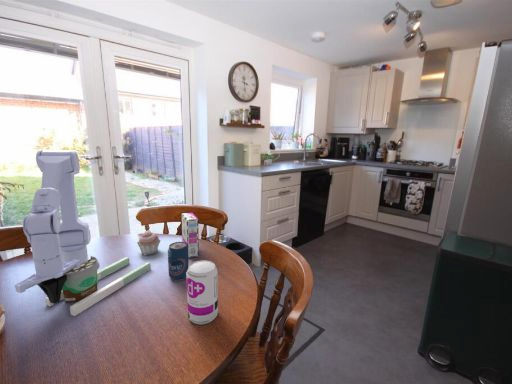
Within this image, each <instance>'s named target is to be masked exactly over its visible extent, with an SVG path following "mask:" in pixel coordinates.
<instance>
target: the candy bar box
mask: <svg viewBox="0 0 512 384" xmlns="http://www.w3.org/2000/svg"><path fill="white" fill-rule="evenodd" d="M181 239H182V241H181V242H184V243H186V246H187V247H188V256H189V259H190V258H191V259H192V258H197V257H199V256H200V255H199V253H200V252H199V248H200V247H199V246H200V245H199V243H200V242H199V218H198V217H197V216H196V215H195V214H194V213H193V212H183V213H181Z"/></svg>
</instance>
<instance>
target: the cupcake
mask: <svg viewBox="0 0 512 384" xmlns="http://www.w3.org/2000/svg"><path fill="white" fill-rule="evenodd" d="M161 241H162V240H161V239H160V238H159V236H158V235H157V234H156V233H155V232H153V231H150V229H147V230H145V231H144V232H143V233H142V234H141V235H140V237H139V239H138V241H137V242H136V244H137V246H138V247H139V250H140V252H141V255H145V256H151V255H154V254H156V253H157V252H158V251H159V250H158V249H159V245H160V243H161Z"/></svg>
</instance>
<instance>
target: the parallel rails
mask: <svg viewBox="0 0 512 384" xmlns="http://www.w3.org/2000/svg"><path fill="white" fill-rule="evenodd" d="M129 264H130V257H128V256H125V257H123V258H121V259H119V260H117V261H115V262H113V263H111V264H109V265H107V266H105V267H103V268H101V269H98V270H97V282H99V281H100V280H102V279H103V278H105V277H107V276H109V275H111V274H113V273H114V272H116V271H119V270H120V269H122V268H123V267H126V266H127V265H129ZM151 269H152V268H151V262H148V261H147V262H144V263H143V264H142V265H139V266H137V267H136V268H135V269H134V268H133V270H131V271H129V272H127V273H125V274H124V275H122V276H120V277H119V278H117V279H115V280H114V281H112V282H110V283H108V284H107V285H105V286H104V287H101V288H100V289H97V291H96V292H94V293H93V294H91V295H89V296H88V297H86V298H84V299H82V300H81V301H79V302H75V303H73V304H72V305H70V306H69V311H70V315H71V316H73V317H76V316H78V315H79V314H80V313H82V312H84V311H85V310H87V309H88V308H89V309H90V307H92V306H94V305H95V304H96V303H98V302H100V301H102V300H103V299H104V298H105V299H106V297H108V296H110V295H111V294H112V293H114V292H117V291H118V290H119V289H121V288H123V287H124V286H125V285H127V284H129V283H130V282H132V281H134V280H135V279H137V278H138V277H140V276H142V275H143V274H146V273H147V272H149V270H151ZM44 298H45V299H44V300H45V304H46V306H48V307H51V306H53V305H54V304H53V303H51V302H50V301H49V299H48V297H47V296H45V297H44ZM62 300H65V299H64V295H63V292H61V297H60V301H59V302H61V301H62Z"/></svg>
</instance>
